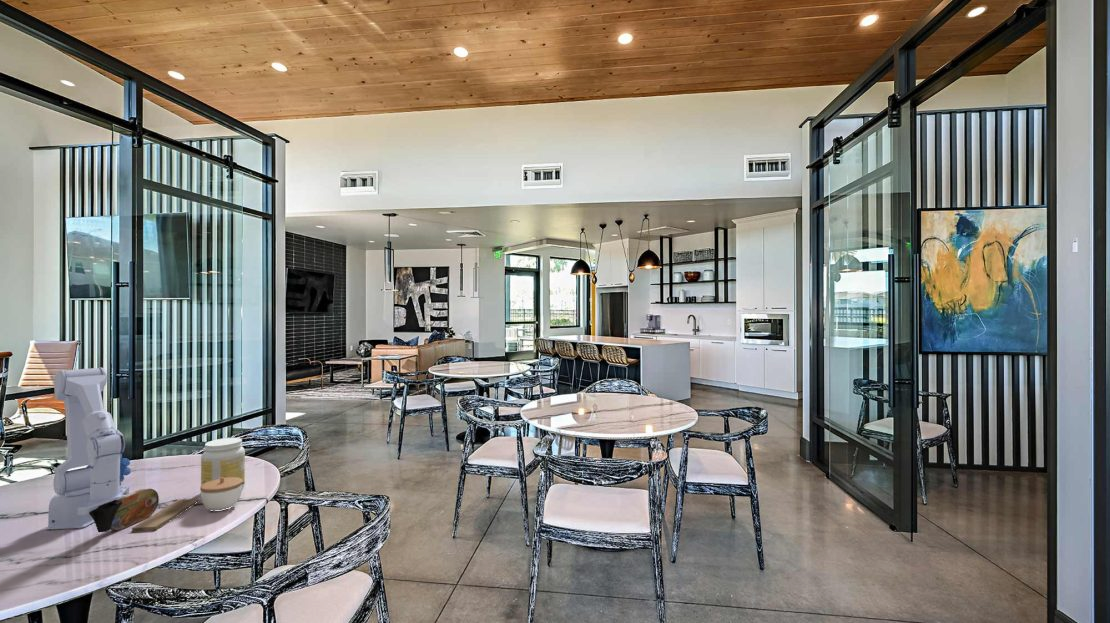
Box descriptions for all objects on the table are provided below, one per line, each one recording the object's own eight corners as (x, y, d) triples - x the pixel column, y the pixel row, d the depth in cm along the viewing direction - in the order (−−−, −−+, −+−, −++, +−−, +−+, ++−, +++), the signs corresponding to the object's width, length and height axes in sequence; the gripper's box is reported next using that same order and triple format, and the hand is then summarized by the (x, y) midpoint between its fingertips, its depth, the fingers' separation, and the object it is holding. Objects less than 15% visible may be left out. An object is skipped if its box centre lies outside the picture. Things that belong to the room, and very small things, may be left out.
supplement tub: (248, 483, 167) (249, 435, 167) (239, 495, 155) (240, 444, 156) (207, 487, 162) (208, 438, 162) (194, 500, 151) (195, 448, 151)
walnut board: (132, 531, 129) (132, 527, 129) (178, 503, 149) (178, 499, 149) (156, 530, 130) (156, 526, 130) (199, 502, 149) (199, 498, 149)
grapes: (82, 492, 157) (82, 456, 157) (86, 486, 162) (87, 451, 162) (128, 485, 164) (129, 450, 164) (131, 479, 169) (132, 446, 169)
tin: (109, 535, 126) (110, 504, 126) (98, 535, 127) (99, 503, 127) (159, 512, 141) (160, 484, 141) (149, 512, 142) (150, 484, 142)
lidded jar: (193, 517, 138) (193, 485, 139) (209, 503, 149) (209, 473, 149) (234, 513, 141) (235, 482, 141) (247, 499, 152) (248, 470, 152)
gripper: (100, 489, 119) (99, 543, 118) (141, 470, 133) (140, 518, 133) (68, 490, 117) (67, 544, 117) (113, 471, 132) (112, 520, 132)
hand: (104, 531), depth 125 cm, fingers closed
